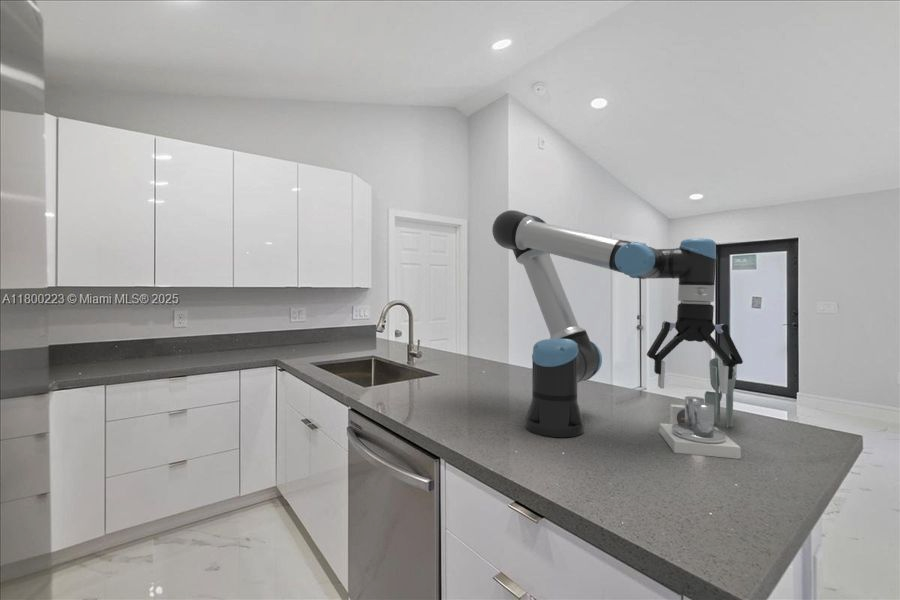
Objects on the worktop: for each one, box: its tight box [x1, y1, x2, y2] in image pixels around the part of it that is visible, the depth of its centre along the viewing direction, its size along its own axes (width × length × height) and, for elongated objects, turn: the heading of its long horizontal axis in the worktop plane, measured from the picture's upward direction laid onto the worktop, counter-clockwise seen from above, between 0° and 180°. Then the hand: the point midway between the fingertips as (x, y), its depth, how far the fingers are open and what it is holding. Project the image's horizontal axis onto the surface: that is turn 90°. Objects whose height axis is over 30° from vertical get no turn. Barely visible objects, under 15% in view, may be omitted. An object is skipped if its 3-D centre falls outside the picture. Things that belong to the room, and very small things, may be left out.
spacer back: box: [684, 395, 705, 429], centre depth 98 cm, size 4×4×7 cm
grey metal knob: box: [693, 402, 715, 438], centre depth 93 cm, size 4×4×7 cm
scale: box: [659, 403, 742, 460], centre depth 98 cm, size 13×16×7 cm
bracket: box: [704, 352, 738, 429], centre depth 114 cm, size 28×7×20 cm, turn 143°
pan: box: [672, 423, 727, 443], centre depth 96 cm, size 11×11×1 cm
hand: (691, 389), depth 99 cm, fingers open, 13 cm apart
